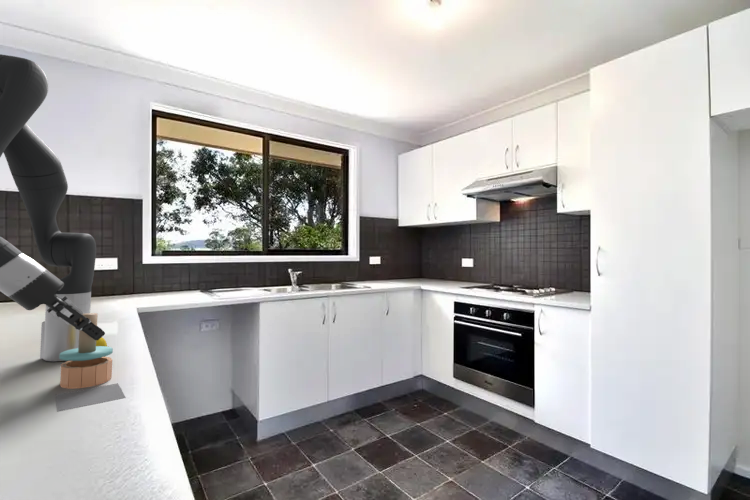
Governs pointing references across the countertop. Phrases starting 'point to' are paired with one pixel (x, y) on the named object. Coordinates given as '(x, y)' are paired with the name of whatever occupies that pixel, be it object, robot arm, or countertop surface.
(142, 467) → the countertop surface
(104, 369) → the bowl
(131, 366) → the countertop surface
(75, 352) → the lid
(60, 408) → the mat
